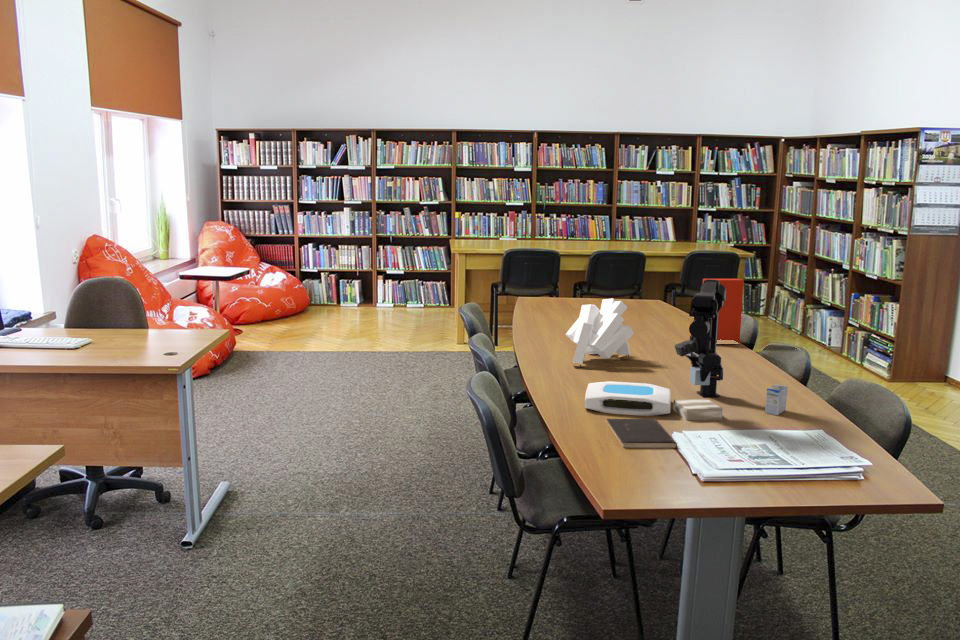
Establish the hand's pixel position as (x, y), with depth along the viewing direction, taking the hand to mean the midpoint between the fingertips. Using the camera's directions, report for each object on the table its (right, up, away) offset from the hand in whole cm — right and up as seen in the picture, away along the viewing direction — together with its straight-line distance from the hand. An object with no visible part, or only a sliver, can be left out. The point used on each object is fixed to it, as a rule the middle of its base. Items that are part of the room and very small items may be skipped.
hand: (699, 379), depth 251 cm
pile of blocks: (-20, +2, +84) cm, 86 cm away
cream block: (0, -12, +2) cm, 12 cm away
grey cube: (0, -1, 0) cm, 1 cm away
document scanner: (-21, -11, +11) cm, 26 cm away
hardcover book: (-24, -16, -20) cm, 35 cm away
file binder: (+46, +8, +125) cm, 133 cm away
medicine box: (+27, -12, +6) cm, 30 cm away
